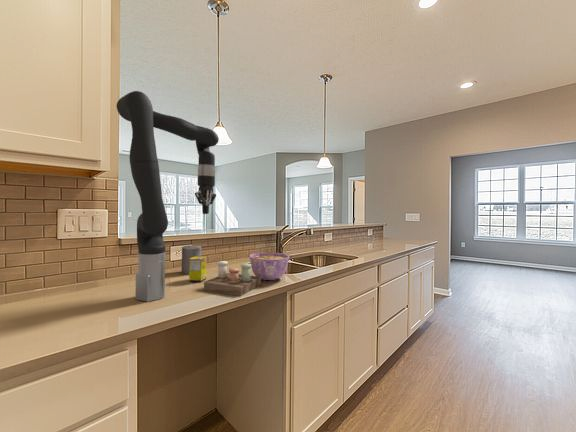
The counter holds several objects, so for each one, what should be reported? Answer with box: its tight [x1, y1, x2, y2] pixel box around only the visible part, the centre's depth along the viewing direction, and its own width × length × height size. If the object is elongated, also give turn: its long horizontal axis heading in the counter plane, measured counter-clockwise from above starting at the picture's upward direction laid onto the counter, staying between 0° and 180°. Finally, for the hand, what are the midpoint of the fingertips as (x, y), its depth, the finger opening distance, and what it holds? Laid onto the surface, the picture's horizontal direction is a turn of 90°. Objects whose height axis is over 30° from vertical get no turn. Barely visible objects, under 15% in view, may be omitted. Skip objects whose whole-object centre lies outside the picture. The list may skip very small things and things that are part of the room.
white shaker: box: [217, 260, 229, 279], centre depth 123 cm, size 4×4×7 cm
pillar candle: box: [181, 244, 202, 275], centre depth 145 cm, size 10×10×15 cm
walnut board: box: [203, 272, 262, 297], centre depth 121 cm, size 18×18×4 cm
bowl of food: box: [249, 251, 290, 281], centre depth 137 cm, size 20×20×12 cm
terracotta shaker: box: [228, 267, 240, 281], centre depth 121 cm, size 4×4×7 cm
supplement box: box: [188, 256, 207, 283], centre depth 130 cm, size 6×6×11 cm
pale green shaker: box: [240, 263, 252, 282], centre depth 119 cm, size 4×4×7 cm
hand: (205, 213), depth 124 cm, fingers closed
